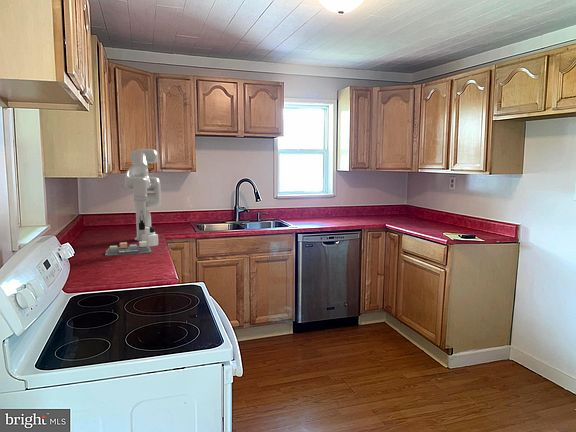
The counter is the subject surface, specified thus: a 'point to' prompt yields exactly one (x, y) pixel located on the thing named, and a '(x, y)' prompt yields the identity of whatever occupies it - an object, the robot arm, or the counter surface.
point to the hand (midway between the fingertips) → (141, 229)
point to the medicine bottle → (150, 237)
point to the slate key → (133, 246)
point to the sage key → (113, 247)
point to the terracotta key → (123, 245)
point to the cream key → (142, 243)
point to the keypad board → (128, 251)
